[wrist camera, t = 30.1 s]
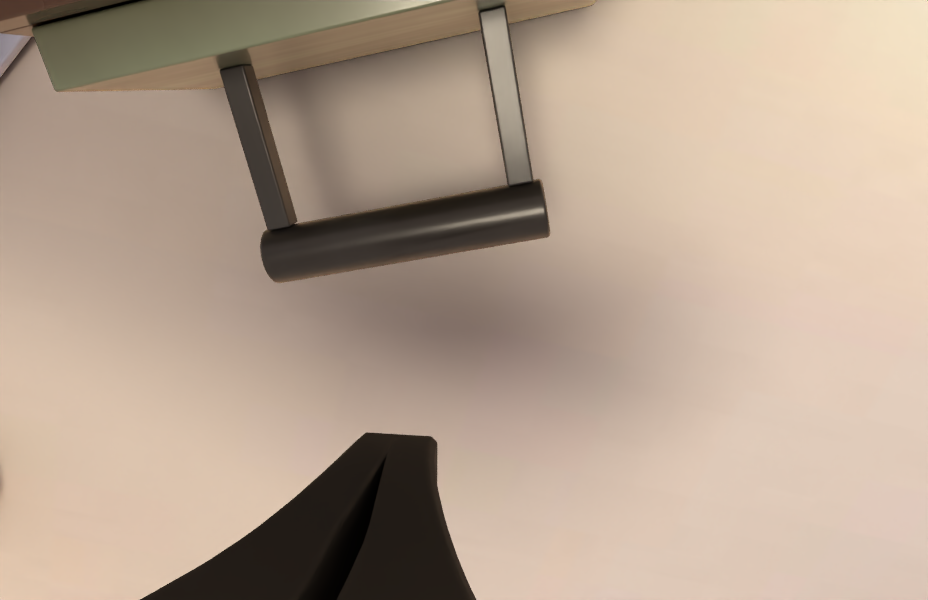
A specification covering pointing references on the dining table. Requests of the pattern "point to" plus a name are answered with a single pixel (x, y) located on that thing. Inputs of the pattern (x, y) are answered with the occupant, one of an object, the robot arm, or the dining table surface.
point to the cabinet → (46, 12)
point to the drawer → (300, 47)
